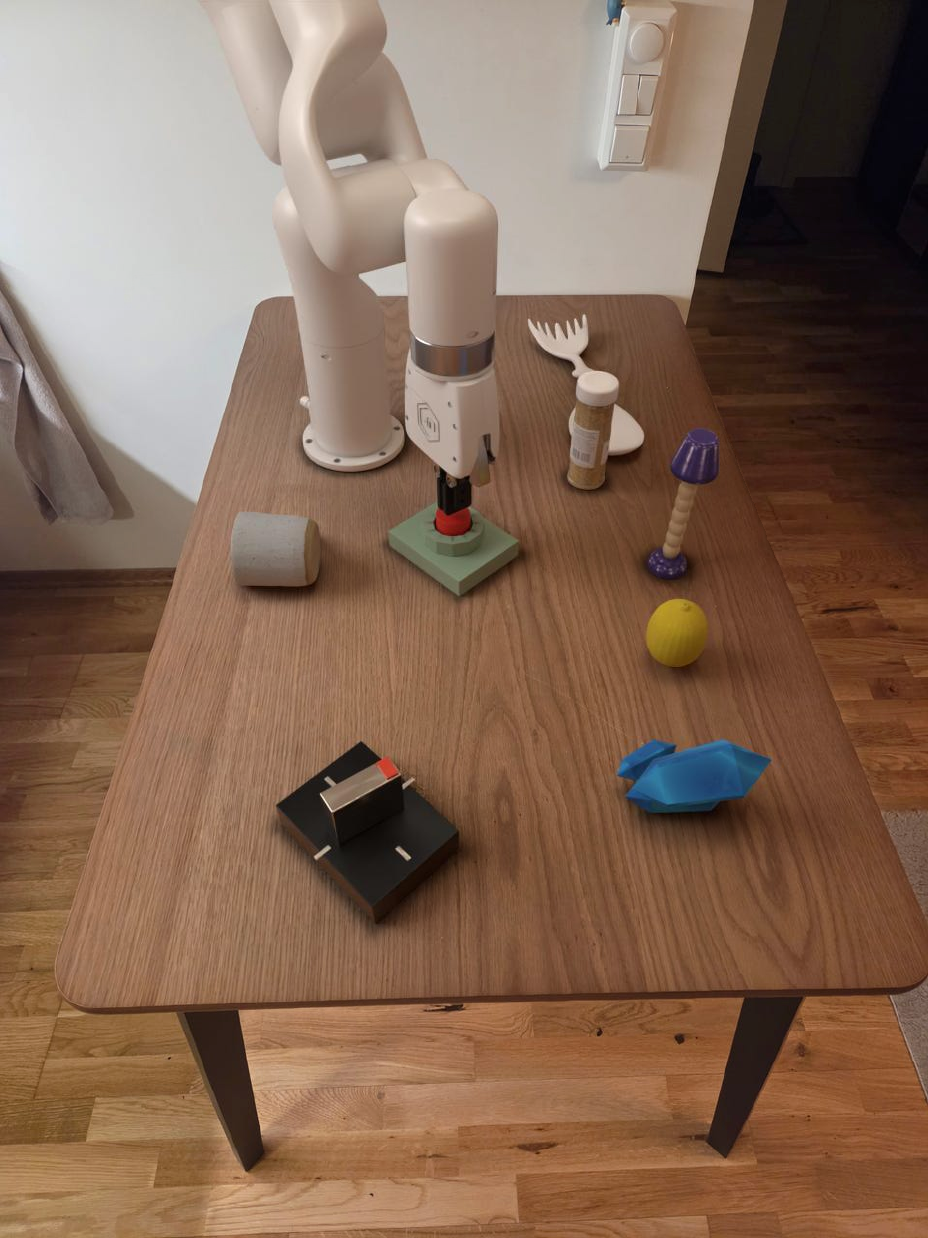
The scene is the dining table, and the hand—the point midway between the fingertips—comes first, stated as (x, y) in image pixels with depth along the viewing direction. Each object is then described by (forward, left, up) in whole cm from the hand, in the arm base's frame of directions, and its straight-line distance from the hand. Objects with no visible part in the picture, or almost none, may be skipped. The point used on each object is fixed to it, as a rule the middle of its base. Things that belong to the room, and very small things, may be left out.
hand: (454, 506), depth 89 cm
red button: (0, 0, -3) cm, 3 cm away
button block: (0, 0, -6) cm, 6 cm away
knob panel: (+20, -29, -6) cm, 36 cm away
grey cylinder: (-11, -15, -7) cm, 20 cm away
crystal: (+36, -8, -7) cm, 37 cm away
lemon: (+26, +4, -7) cm, 27 cm away
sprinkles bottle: (+2, +20, -7) cm, 21 cm away
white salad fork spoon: (-10, +34, -7) cm, 36 cm away
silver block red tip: (+20, -29, -3) cm, 35 cm away
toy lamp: (+18, +15, -7) cm, 24 cm away
